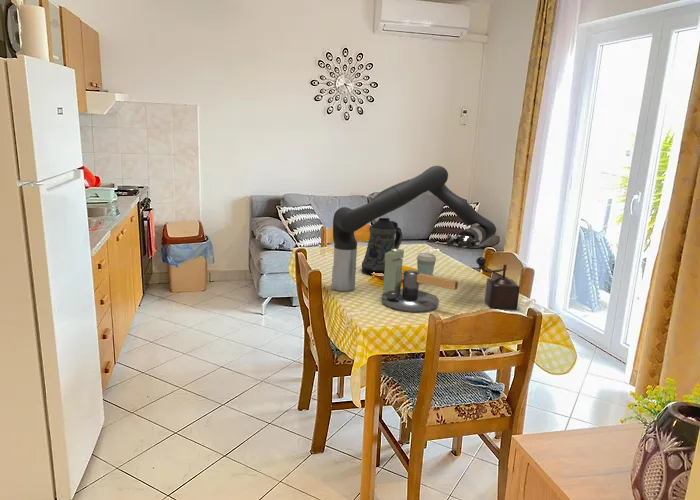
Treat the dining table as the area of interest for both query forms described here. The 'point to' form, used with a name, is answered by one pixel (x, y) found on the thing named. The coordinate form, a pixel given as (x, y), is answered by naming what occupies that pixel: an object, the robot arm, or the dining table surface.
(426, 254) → the coffee cup
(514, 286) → the manual coffee grinder
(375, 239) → the beer stein
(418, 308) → the base
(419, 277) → the wooden handled mallet
